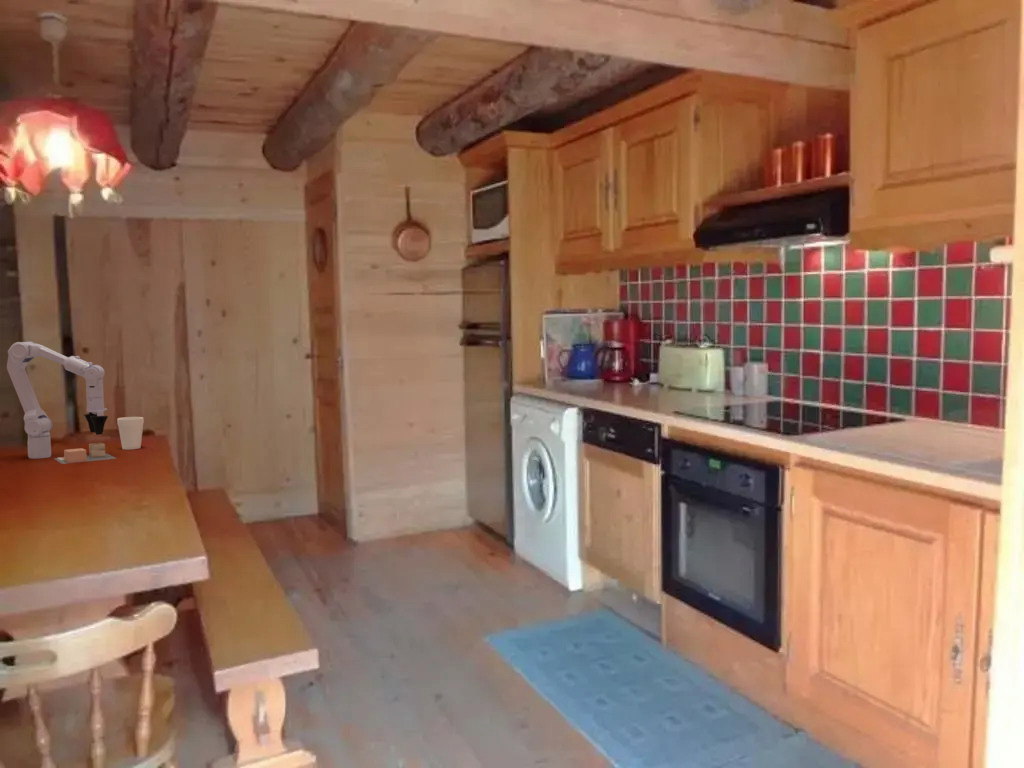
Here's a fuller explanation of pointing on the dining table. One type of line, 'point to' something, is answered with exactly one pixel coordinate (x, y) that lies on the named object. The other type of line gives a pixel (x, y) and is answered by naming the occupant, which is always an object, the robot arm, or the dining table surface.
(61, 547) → the dining table surface
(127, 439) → the foam cup
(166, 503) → the dining table surface
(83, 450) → the terracotta block
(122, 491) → the dining table surface
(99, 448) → the cream cube
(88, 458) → the build board
